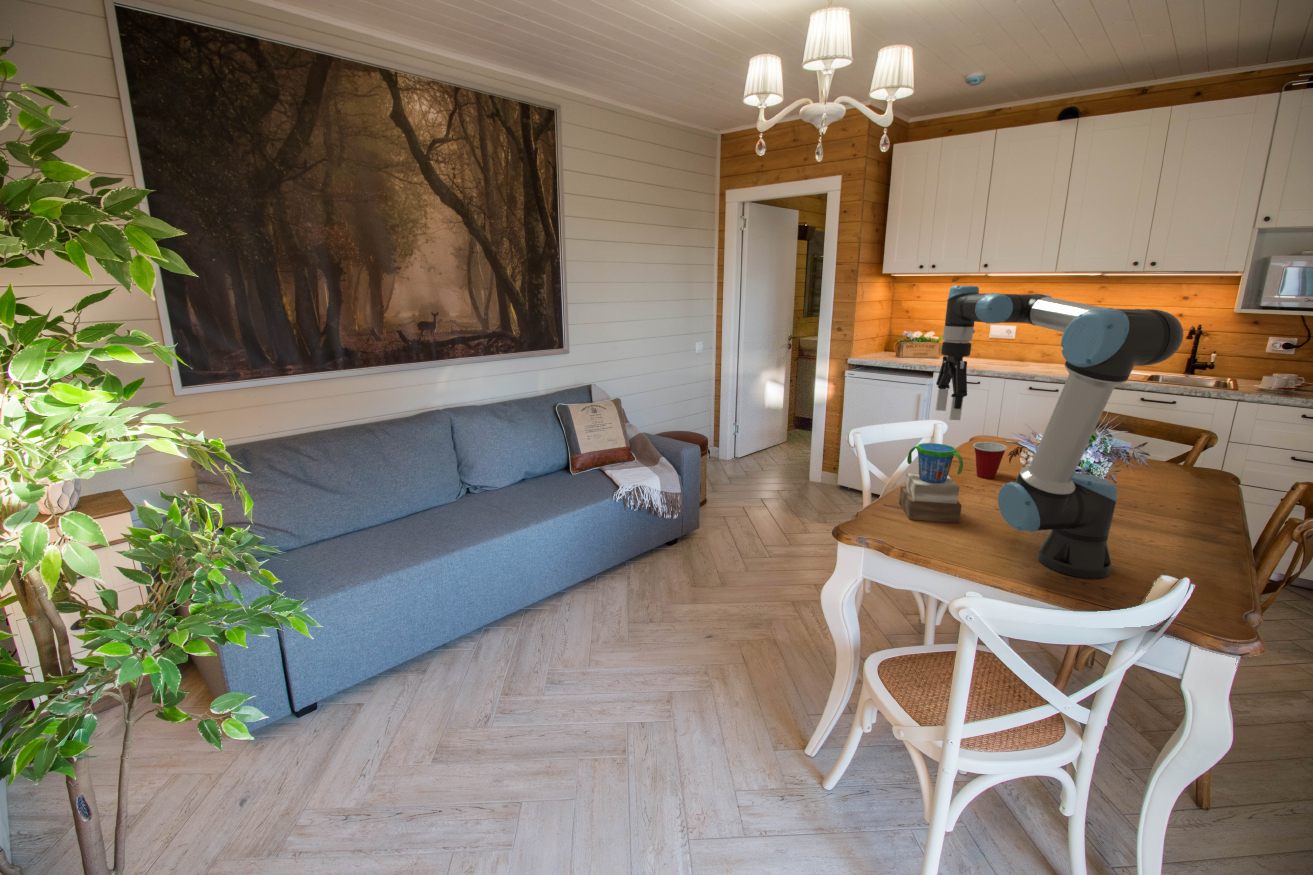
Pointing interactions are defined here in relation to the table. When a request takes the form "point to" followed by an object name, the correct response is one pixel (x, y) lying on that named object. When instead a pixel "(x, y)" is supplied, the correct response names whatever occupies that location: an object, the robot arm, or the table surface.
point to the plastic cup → (988, 458)
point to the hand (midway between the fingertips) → (947, 415)
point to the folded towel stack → (930, 499)
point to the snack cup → (935, 461)
